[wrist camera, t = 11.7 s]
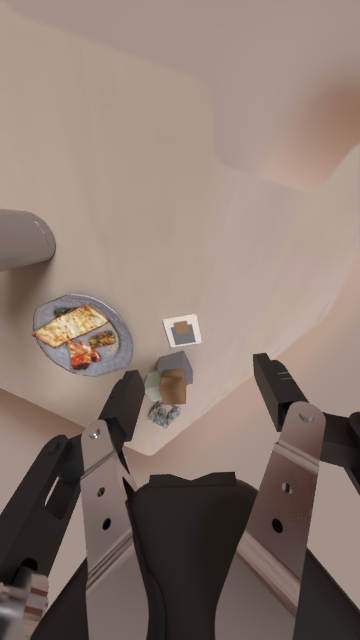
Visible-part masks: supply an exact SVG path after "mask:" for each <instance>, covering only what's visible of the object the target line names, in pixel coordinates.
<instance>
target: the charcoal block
mask: <svg viewBox="0 0 360 640" xmlns="http://www.w3.org/2000/svg"><path fill="white" fill-rule="evenodd" d="M181 368H183V371H184V375H185V379H186V385H188V384H192V383H193V370H192V368H191V365H190V363H189V361H188V359H187V357H186V355H185V352H184V351H181V352H177V353H173V354H170V355H166V356H162V357H160V358H159V362H158V366H157V372H158V374H159V375H160V377H161V378H162V373H163V370H172V369H181Z"/></svg>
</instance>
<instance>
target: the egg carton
mask: <svg viewBox="0 0 360 640" xmlns="http://www.w3.org/2000/svg"><path fill="white" fill-rule="evenodd" d="M162 405H164V403H163V400H159V402H158V403H156V404H155V407H154V409H151V413H150V415H149V418H148V420H150V419H151V420H152V421H153V423H156V424H158V425H160V426H161V425H162V426H163V427H164V428H167V427H168V426H169V424H170V423H171V422H173V421H174V419H175V418H176V417H177V416H179V415H180V408H179V404H176V405H164V406H166V407H169V406H172V407H173V410H172V411H170V412H169V413H168V417H165V415H166V409H165V408H161V407H162ZM157 410H159V413H157V414H156V411H157Z"/></svg>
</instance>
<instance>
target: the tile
mask: <svg viewBox="0 0 360 640" xmlns="http://www.w3.org/2000/svg"><path fill="white" fill-rule="evenodd" d="M163 323H164V326H165V330H166V333H167V336H168V339H169V343H170V346H171V347H177V346H184V345H191V344H197V343H202V341H201V336H200V331H199V326H198V321H197V317H196V314H191V315H186V316H180V317H175V318H169V319H164V320H163Z"/></svg>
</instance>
